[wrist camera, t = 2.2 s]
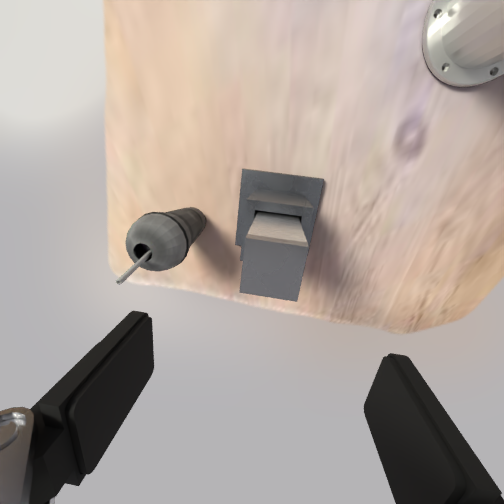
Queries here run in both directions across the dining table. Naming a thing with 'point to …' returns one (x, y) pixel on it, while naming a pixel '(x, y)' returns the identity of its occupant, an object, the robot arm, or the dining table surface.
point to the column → (274, 256)
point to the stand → (277, 200)
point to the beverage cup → (162, 239)
